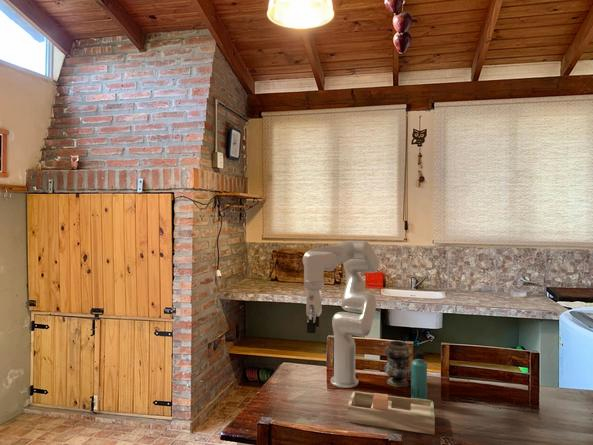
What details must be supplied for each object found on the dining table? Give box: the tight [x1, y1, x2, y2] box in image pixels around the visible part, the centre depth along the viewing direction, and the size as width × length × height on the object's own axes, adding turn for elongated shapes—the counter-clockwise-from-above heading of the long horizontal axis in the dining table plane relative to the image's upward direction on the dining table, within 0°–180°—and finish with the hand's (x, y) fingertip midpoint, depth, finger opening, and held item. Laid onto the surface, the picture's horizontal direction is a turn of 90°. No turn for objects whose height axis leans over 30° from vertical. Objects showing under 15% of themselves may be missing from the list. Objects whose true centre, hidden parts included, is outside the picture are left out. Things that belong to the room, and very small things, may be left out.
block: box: [373, 392, 389, 411], centre depth 148 cm, size 5×5×5 cm
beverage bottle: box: [410, 350, 428, 400], centre depth 164 cm, size 6×7×20 cm
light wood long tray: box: [346, 390, 436, 436], centre depth 150 cm, size 14×30×6 cm, turn 74°
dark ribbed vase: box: [383, 340, 413, 388], centre depth 183 cm, size 12×12×18 cm
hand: (313, 329), depth 157 cm, fingers open, 9 cm apart
